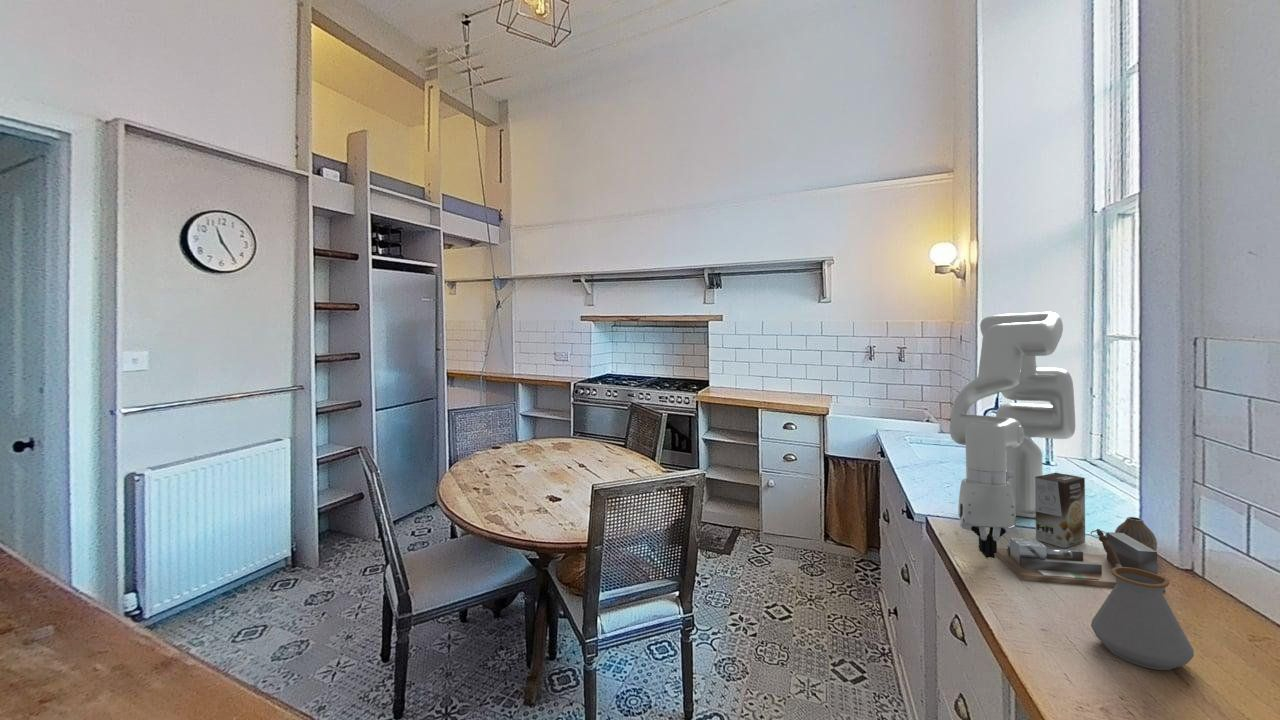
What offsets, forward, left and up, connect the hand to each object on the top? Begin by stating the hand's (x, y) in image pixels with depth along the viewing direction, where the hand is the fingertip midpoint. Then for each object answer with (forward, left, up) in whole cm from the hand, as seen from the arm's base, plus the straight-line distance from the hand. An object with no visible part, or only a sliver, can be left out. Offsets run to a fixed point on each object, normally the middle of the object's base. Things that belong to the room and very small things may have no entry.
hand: (987, 555), depth 110 cm
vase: (-10, +33, -2) cm, 34 cm away
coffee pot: (+26, +11, -2) cm, 28 cm away
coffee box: (-17, +22, -2) cm, 28 cm away
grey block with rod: (+2, +11, -1) cm, 11 cm away
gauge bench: (0, +16, -2) cm, 16 cm away
